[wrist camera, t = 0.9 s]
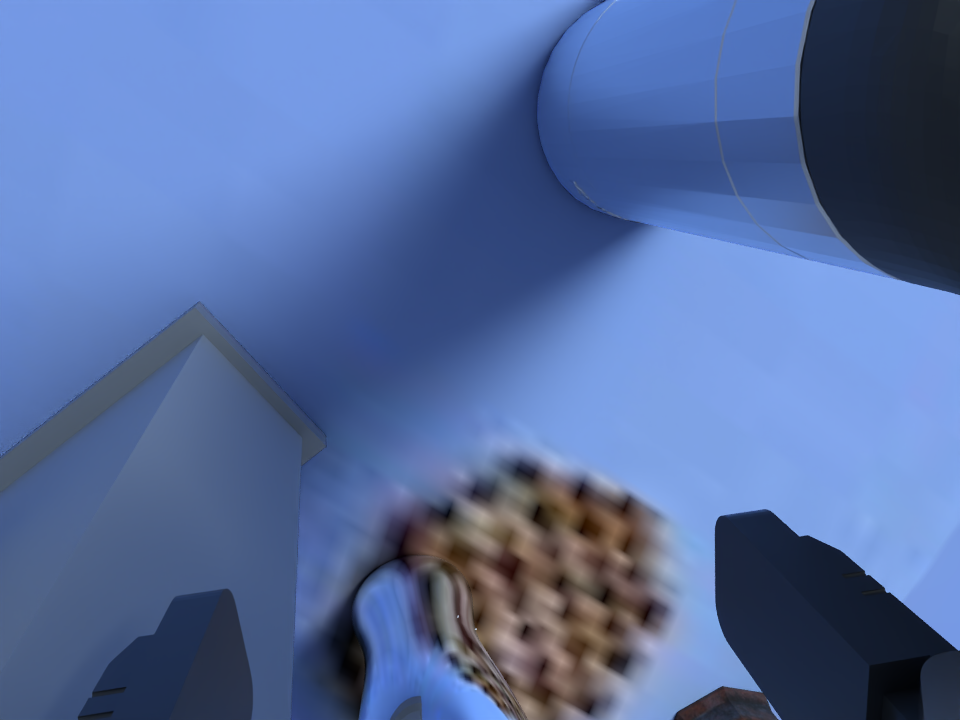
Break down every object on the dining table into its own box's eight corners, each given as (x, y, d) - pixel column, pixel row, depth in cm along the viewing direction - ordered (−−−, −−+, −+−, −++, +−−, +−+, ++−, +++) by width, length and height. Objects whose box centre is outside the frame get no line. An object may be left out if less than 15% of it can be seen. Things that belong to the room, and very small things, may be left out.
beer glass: (439, 679, 37) (515, 1002, 23) (318, 642, 35) (320, 974, 21) (503, 572, 36) (623, 841, 22) (382, 526, 34) (431, 793, 20)
